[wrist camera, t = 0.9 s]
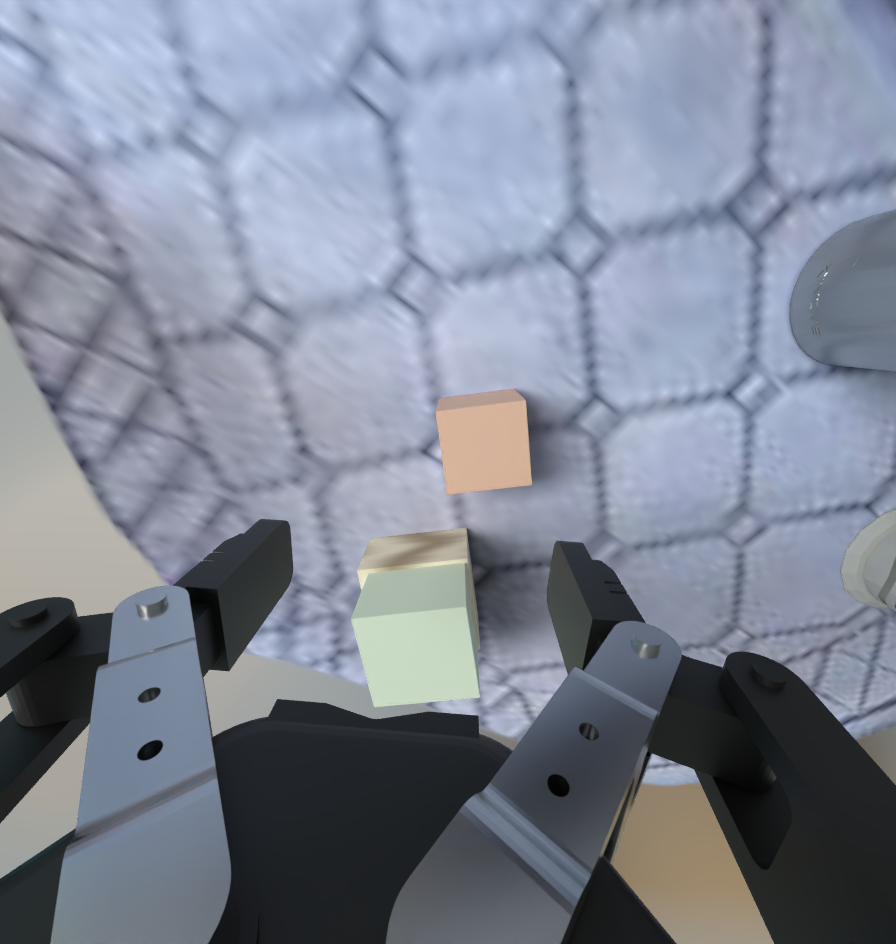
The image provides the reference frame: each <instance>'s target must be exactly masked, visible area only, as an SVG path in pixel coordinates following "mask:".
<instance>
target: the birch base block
mask: <svg viewBox="0 0 896 944" xmlns="http://www.w3.org/2000/svg"><path fill="white" fill-rule="evenodd" d="M464 562H465V567H466V574H467V581H468V587H469V594H470V601H471V607H472V614H473V621H474V627H475V634H476V641H477V650H480V639H479V624H478V609H477V602H476V595H475V587H474V580H473V573H472V565H471V558H470V551H469V543H468V536H467V529H466V528H460V529H451V530H442V531H433V532H424V533H416V534H407V535H398V536H389V537H380V538H372V539H370V541H369V544H368V546H367V548H366V550H365V553H364V555H363V557H362V560H361V562H360V564H359V567H358V569H357V573H358V577H359V581H360V585H361V590H362V589H363V586H364V583H365V581H366V578H367V575H368V573H376V572H384V571H393V570H402V569H411V568H420V567H429V566H437V565H446V564H455V563H464Z"/></svg>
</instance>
